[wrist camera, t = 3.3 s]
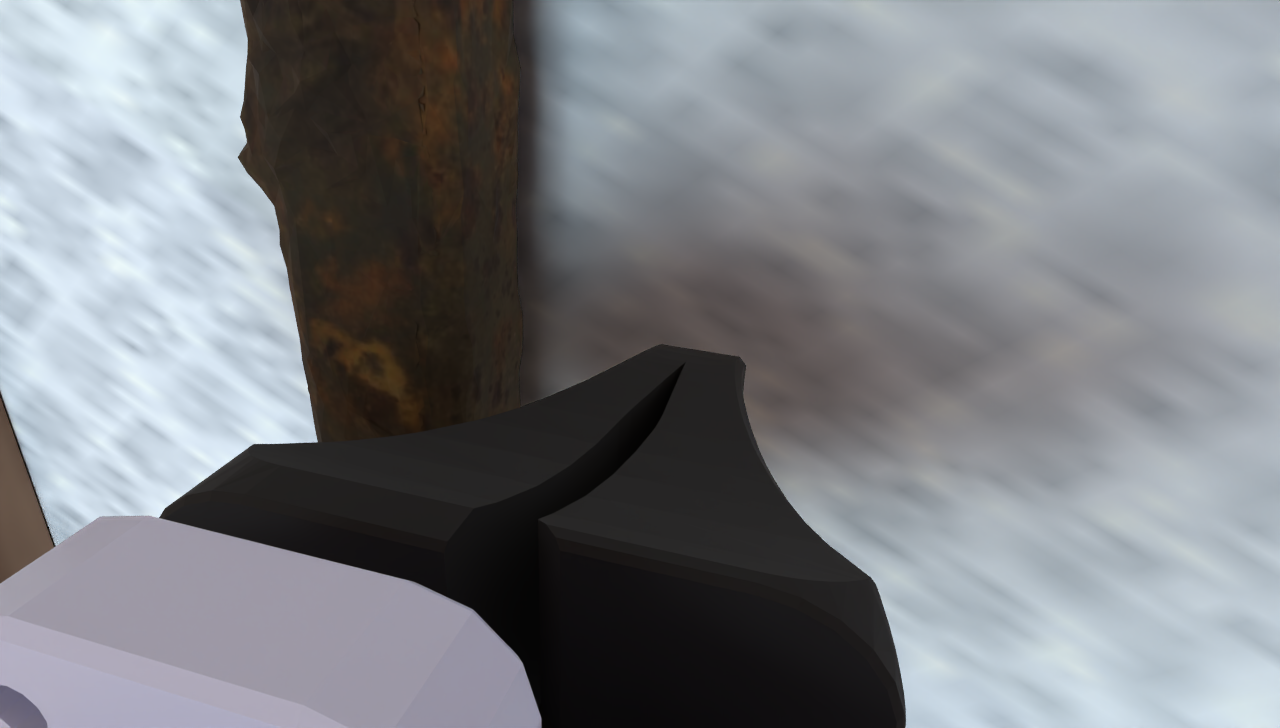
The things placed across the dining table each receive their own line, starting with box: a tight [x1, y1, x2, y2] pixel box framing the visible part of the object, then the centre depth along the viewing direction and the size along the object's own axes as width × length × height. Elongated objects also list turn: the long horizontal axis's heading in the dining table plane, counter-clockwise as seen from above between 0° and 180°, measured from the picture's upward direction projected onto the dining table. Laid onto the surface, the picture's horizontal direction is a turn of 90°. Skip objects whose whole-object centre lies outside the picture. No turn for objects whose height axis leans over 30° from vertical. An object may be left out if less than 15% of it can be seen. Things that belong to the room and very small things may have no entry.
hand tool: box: [238, 0, 523, 442], centre depth 13 cm, size 19×4×5 cm, turn 177°
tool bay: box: [0, 397, 54, 583], centre depth 16 cm, size 10×27×2 cm, turn 178°
